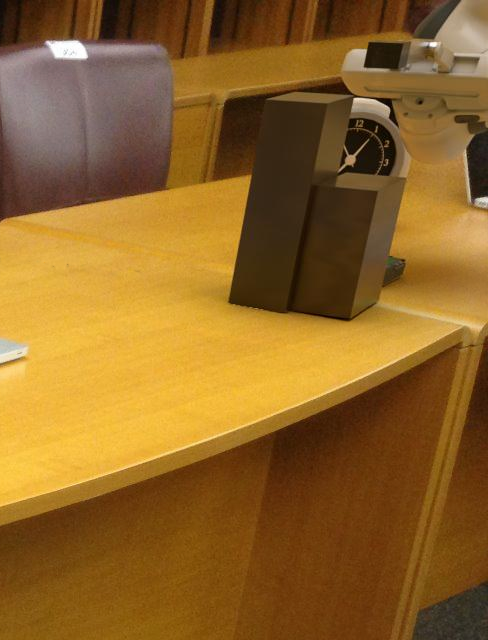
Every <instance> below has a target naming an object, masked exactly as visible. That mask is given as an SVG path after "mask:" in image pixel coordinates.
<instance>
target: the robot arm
mask: <svg viewBox="0 0 488 640" xmlns="http://www.w3.org/2000/svg"><path fill="white" fill-rule="evenodd" d="M412 39H434V42H430V43H429V47H428V48H427V52H426V56H427V60H423V61H419V62H415V63H412V64H408V65H406V67H404V68H401V69H380V68H363V67H364V62H365V57H366V52H367V48H366V49H365V48H363V49H362V48H354V49H350V51H348V52H347V53H346V54H345V58H344V59H343V62H342V65H341V69H340V77H341V79H342V81H343V84H344V85H345V86H346V88H347V89H348V91H349V92H350V93H352V95H354V96H358V97H362V98H375V99H376V98H378V99H379V98H381V99H391V103H392V108H393V112H394V116H395V119H396V122H397V124H398V126H397V127H398V129H399V132H400V136H401V139H402V142H403V144H404V146H405V148H406V150H407V152H408V153H409V154H410V155H411V158H413V159H414V160H415V161H417V162H419V163H422V164H424V165H432V166H433V165H434V166H440V165H444V164H447V163H450V162H452V161H454V160H456V159H457V158H458V157H460V156H461V155H462V154H463V153H464V152H465V150H466V149H467V148H468V146H469V144H470V143H471V141H472V140H473V138H474V137H475V136H476V135H478V134H482V133H485V132H488V0H446V1H444V2H443V3H442V4H441V5H439V6H438V7H437V8H435V9H434V10H433V11H431V12H430V13H429V14H428V15H427V16H426V17H425V18H424V19H423V20H422V21H421V22H420V23H419V24H418V25H417V27H416V28H415V30H414V32H413V35H412ZM398 41H405V40H402V39H401V40H400V39H398Z"/></svg>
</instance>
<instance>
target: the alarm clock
mask: <svg viewBox="0 0 488 640" xmlns="http://www.w3.org/2000/svg"><path fill="white" fill-rule="evenodd" d="M390 113H391V108H390V107H389V106H388V105H386V104H384V103H382V102H380V101H378V100H377V99H372V98H366V97H354V100H353V105H352V110H351V114H350V119H349V124H348V129H347V134H346V138H345V143H344V148H343V153H342V158H341V162H340V167H339V172H338V176H339V175H342V174H344V173H358V174H369V175H381V176H392V177H404V178H407V176H408V173H409V169H410V167H411V158H412V156H411V155H410V154H409V153H408V152H407V150H406V148H405V146H404V144H403V142H402V139H401V136H400V132H399V126H397V125H396V124H395V123H394V122H393V121H392V120H391V119H390V118H389V117H390Z"/></svg>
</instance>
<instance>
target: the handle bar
mask: <svg viewBox="0 0 488 640" xmlns="http://www.w3.org/2000/svg"><path fill="white" fill-rule="evenodd" d="M430 42H434V39H413V38H411V39H407V40H404V41H403V40H402V41H399V40H388V39H387V40H386V39H381V40H380V39H376V40H371V41H368V44H367V48H366V49H367V52H366V57H365V62H364V67H363V68H380V69H401V68H404V67H406V65H408V64H412V63H415V62H419V61H423V60H427V56H426V52H427V48H428V47H429V43H430Z"/></svg>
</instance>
